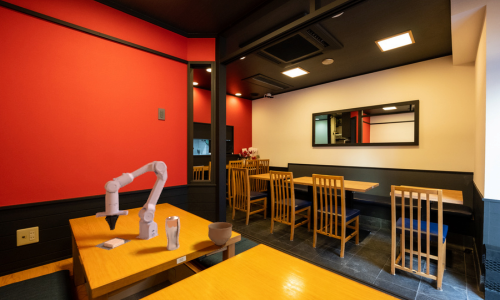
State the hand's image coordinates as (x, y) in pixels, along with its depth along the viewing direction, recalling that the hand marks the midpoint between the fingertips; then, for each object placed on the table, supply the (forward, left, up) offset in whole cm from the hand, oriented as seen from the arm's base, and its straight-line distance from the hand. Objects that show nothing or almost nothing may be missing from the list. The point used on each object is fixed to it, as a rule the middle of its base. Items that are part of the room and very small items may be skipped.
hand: (112, 229), depth 110 cm
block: (+2, 0, -7) cm, 7 cm away
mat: (+1, -1, -8) cm, 8 cm away
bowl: (-52, -23, -9) cm, 57 cm away
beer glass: (-32, -10, -9) cm, 35 cm away
